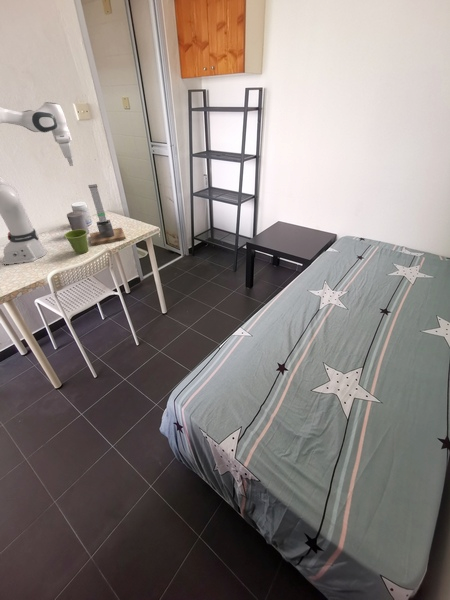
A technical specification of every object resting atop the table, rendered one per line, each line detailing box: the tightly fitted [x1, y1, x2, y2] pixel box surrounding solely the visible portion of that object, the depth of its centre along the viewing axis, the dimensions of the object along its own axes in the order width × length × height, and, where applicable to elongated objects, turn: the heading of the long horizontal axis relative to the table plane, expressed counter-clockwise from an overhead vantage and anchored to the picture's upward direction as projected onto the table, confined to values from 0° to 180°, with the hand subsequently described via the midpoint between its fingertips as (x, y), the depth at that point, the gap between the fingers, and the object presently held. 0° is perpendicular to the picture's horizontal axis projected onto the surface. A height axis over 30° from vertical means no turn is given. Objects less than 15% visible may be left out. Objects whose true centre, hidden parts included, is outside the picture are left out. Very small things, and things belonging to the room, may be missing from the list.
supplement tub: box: [70, 201, 93, 227], centre depth 196 cm, size 10×10×15 cm
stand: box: [89, 219, 127, 247], centre depth 177 cm, size 20×16×11 cm
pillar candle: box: [66, 211, 90, 235], centre depth 182 cm, size 10×10×15 cm
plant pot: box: [63, 229, 89, 255], centre depth 162 cm, size 12×12×11 cm
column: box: [87, 183, 108, 222], centre depth 168 cm, size 5×5×21 cm
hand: (71, 164), depth 167 cm, fingers open, 8 cm apart
